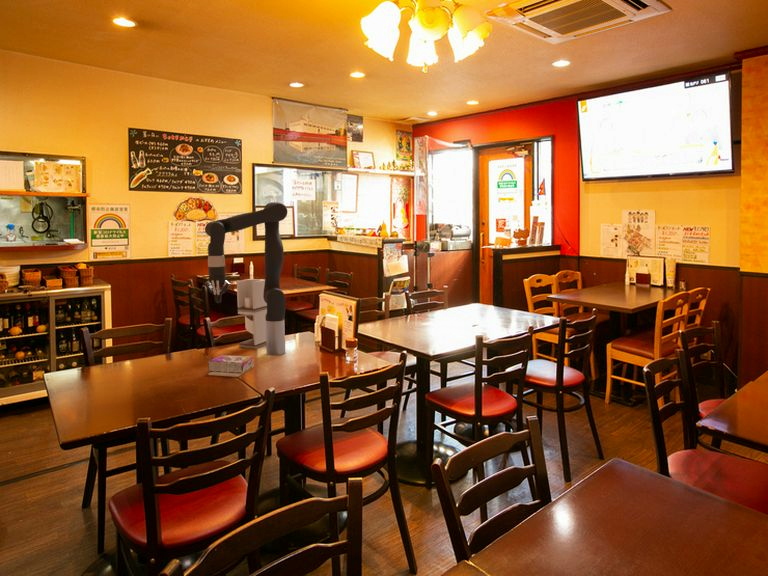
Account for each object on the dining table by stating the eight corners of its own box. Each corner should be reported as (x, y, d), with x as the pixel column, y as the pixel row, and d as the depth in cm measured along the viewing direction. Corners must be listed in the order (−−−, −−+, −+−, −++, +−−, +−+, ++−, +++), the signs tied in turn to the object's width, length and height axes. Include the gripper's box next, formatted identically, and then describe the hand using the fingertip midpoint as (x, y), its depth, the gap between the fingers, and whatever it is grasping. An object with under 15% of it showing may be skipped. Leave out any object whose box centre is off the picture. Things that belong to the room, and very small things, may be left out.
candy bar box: (220, 354, 245) (253, 356, 242) (220, 364, 246) (253, 367, 243) (207, 360, 234) (242, 362, 231) (208, 371, 235) (242, 373, 232)
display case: (252, 342, 292) (250, 278, 287) (268, 343, 288) (266, 279, 283) (239, 346, 281) (236, 281, 277) (255, 348, 277) (253, 282, 272)
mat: (226, 364, 248) (226, 363, 248) (254, 366, 245) (254, 365, 245) (208, 374, 233) (208, 373, 232) (237, 376, 230) (237, 375, 229)
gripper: (233, 264, 247) (235, 301, 249) (208, 264, 249) (209, 300, 252) (225, 266, 239) (227, 304, 242) (199, 265, 242) (201, 303, 245)
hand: (218, 302), depth 247 cm, fingers closed
